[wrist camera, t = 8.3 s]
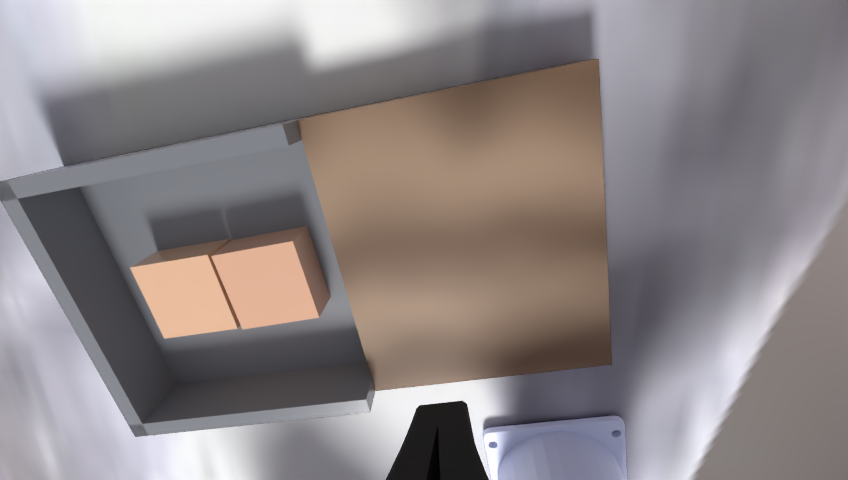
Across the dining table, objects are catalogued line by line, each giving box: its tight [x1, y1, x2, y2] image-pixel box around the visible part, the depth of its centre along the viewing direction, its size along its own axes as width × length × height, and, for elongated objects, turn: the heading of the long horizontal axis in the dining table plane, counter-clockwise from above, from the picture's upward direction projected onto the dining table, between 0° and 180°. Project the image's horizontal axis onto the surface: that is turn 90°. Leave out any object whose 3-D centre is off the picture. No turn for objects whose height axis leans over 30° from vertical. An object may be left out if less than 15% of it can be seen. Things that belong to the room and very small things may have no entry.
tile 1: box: [211, 226, 330, 330], centre depth 21 cm, size 4×4×2 cm
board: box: [296, 59, 612, 391], centre depth 20 cm, size 14×12×2 cm
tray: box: [0, 116, 375, 437], centre depth 21 cm, size 14×13×4 cm
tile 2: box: [130, 239, 240, 339], centre depth 21 cm, size 4×4×2 cm
